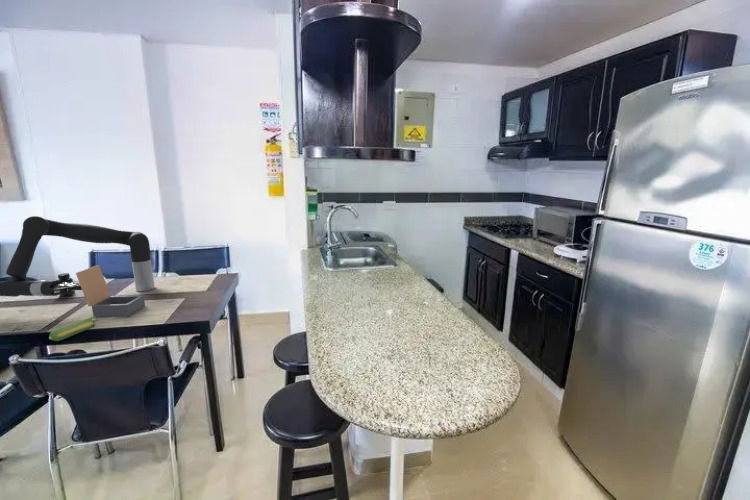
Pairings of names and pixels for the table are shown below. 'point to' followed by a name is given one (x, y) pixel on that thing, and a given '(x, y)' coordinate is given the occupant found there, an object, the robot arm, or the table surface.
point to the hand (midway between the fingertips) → (84, 287)
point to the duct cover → (93, 285)
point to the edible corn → (71, 329)
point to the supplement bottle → (65, 279)
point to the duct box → (118, 306)
